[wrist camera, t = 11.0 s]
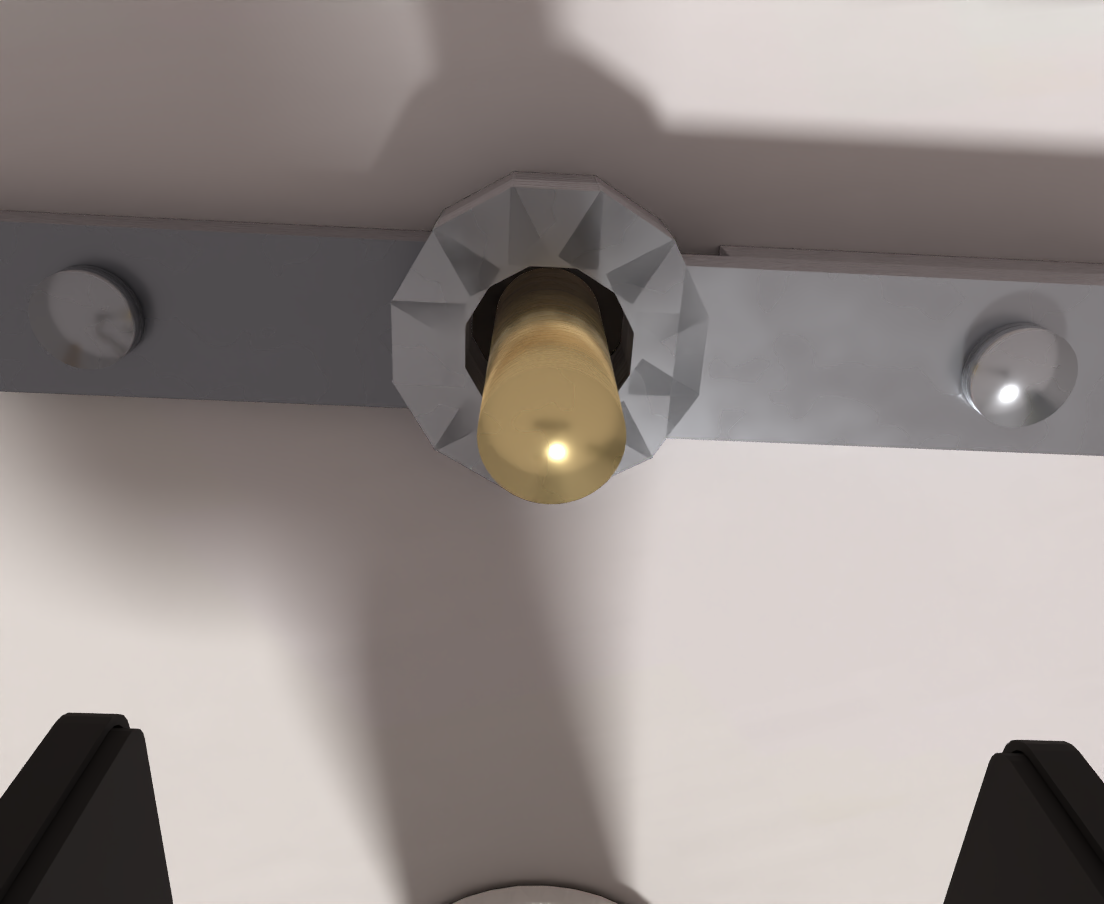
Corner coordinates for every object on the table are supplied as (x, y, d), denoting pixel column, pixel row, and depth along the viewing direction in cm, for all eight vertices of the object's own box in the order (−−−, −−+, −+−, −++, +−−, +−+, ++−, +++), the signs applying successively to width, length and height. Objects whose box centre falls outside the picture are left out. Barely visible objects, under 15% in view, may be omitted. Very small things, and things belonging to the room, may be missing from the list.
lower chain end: (704, 180, 25) (720, 192, 23) (672, 453, 29) (683, 485, 27) (-72, 141, 25) (-128, 149, 23) (-7, 426, 28) (-50, 456, 26)
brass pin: (620, 303, 27) (655, 417, 19) (563, 387, 28) (572, 527, 20) (532, 246, 26) (528, 339, 18) (476, 334, 27) (449, 458, 19)
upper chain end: (1151, 203, 26) (1245, 227, 23) (1065, 468, 30) (1134, 524, 26) (403, 164, 25) (382, 184, 22) (408, 442, 29) (390, 497, 25)
